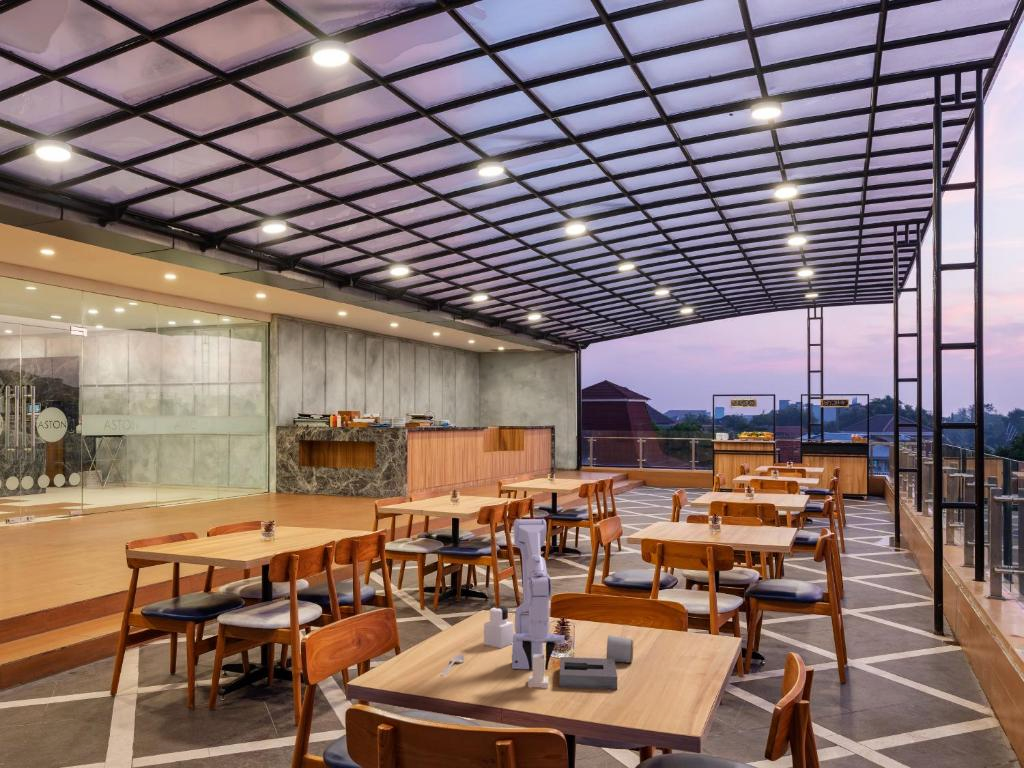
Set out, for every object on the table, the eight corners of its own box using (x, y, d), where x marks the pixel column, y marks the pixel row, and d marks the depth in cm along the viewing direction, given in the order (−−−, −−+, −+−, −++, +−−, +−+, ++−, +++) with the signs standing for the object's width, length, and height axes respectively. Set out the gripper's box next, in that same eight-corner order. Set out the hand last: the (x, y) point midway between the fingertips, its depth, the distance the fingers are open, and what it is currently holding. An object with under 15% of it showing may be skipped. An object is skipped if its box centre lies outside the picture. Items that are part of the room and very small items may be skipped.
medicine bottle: (496, 639, 258) (496, 604, 258) (513, 643, 254) (513, 607, 254) (483, 644, 252) (483, 608, 253) (500, 648, 248) (501, 611, 248)
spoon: (467, 660, 237) (467, 654, 237) (444, 682, 217) (445, 676, 218) (455, 658, 238) (455, 653, 239) (431, 680, 219) (431, 674, 219)
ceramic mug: (633, 666, 232) (633, 640, 232) (606, 664, 233) (606, 638, 234) (633, 656, 242) (633, 631, 243) (607, 654, 243) (607, 630, 244)
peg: (528, 687, 212) (528, 658, 213) (529, 681, 218) (529, 652, 218) (547, 688, 212) (547, 659, 212) (548, 681, 217) (548, 653, 218)
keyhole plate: (559, 687, 212) (559, 674, 212) (560, 668, 228) (560, 657, 228) (617, 689, 211) (617, 676, 211) (614, 670, 227) (614, 658, 227)
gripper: (512, 622, 212) (511, 672, 212) (564, 624, 211) (564, 674, 210) (514, 616, 219) (513, 664, 219) (564, 617, 218) (564, 665, 217)
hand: (538, 668), depth 215 cm, fingers open, 4 cm apart
